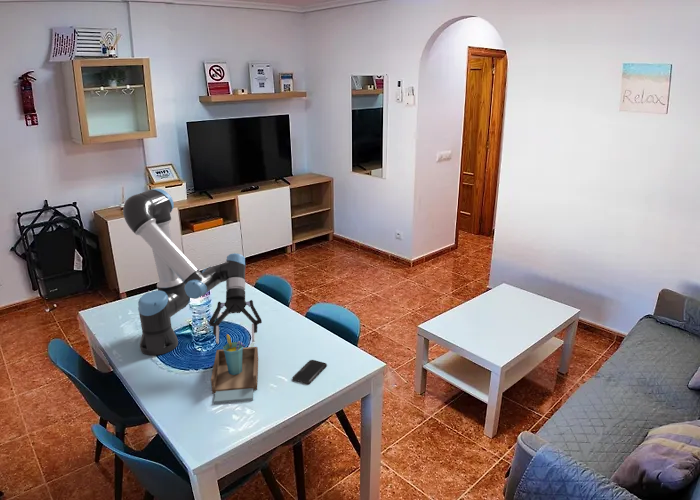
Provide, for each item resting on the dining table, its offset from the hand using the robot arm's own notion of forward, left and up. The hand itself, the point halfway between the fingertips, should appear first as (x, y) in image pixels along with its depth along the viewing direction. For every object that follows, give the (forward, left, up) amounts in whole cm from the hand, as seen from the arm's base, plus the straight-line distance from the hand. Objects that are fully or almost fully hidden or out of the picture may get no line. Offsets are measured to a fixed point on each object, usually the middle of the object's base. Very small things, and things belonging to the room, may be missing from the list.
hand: (235, 342), depth 196 cm
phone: (+28, -7, -12) cm, 31 cm away
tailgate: (0, -16, -12) cm, 20 cm away
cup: (0, -5, -10) cm, 12 cm away
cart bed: (0, -5, -12) cm, 13 cm away
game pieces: (-9, +49, -12) cm, 52 cm away
